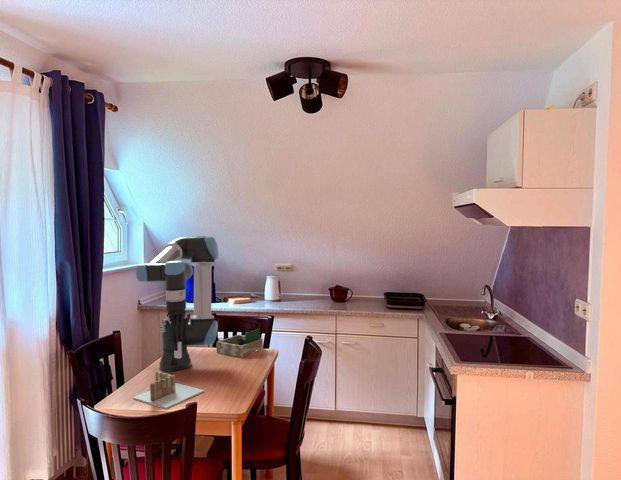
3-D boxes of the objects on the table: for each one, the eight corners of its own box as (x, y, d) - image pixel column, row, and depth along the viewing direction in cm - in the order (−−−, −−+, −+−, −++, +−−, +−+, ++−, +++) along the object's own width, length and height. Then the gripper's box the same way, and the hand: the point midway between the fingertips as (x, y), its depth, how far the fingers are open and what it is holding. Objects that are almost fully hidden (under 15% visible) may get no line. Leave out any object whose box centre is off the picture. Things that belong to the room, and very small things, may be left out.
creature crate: (216, 352, 241) (216, 341, 241) (238, 344, 257) (238, 334, 256) (241, 357, 232) (241, 346, 232) (262, 349, 247) (262, 338, 247)
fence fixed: (154, 389, 189) (154, 371, 188) (158, 388, 190) (158, 370, 190) (172, 394, 183) (172, 376, 182) (176, 393, 184) (176, 374, 184)
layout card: (132, 398, 179) (132, 397, 179) (171, 383, 196) (171, 381, 196) (166, 409, 169) (166, 407, 169) (204, 391, 186) (204, 390, 186)
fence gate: (168, 392, 183) (168, 375, 183) (171, 392, 182) (171, 376, 182) (149, 400, 175) (149, 383, 174) (152, 401, 174) (151, 384, 174)
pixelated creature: (243, 346, 253) (243, 326, 253) (260, 349, 247) (259, 328, 246) (229, 352, 243) (229, 330, 243) (246, 355, 237) (245, 333, 236)
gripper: (169, 303, 169) (171, 364, 170) (194, 297, 180) (196, 354, 181) (156, 301, 173) (158, 360, 174) (182, 296, 184) (184, 351, 185)
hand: (178, 357), depth 178 cm, fingers closed
